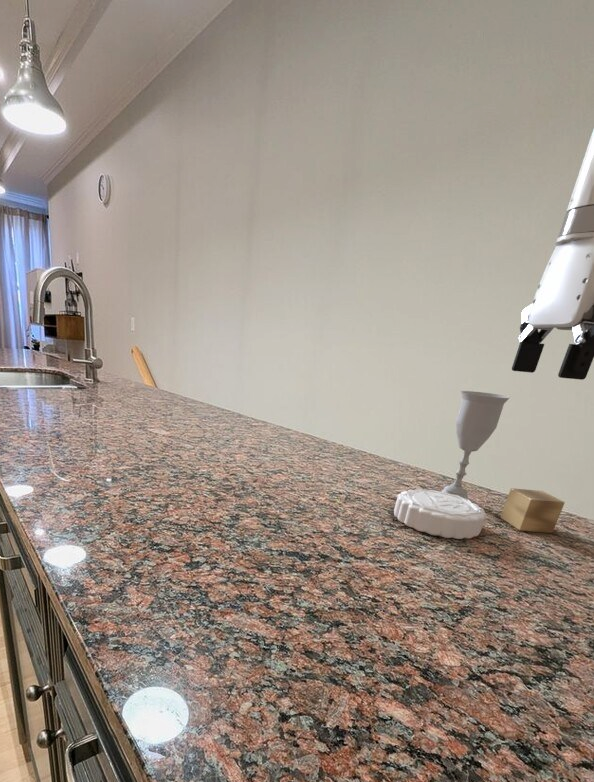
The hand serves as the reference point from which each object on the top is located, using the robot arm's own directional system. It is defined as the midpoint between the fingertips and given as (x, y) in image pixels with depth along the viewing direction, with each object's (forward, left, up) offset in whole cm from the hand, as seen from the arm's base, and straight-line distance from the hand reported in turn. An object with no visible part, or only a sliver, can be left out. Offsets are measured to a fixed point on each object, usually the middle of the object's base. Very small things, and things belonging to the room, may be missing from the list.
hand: (545, 374), depth 61 cm
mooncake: (+10, +3, -22) cm, 25 cm away
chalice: (+2, -9, -22) cm, 24 cm away
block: (-5, +1, -22) cm, 23 cm away
